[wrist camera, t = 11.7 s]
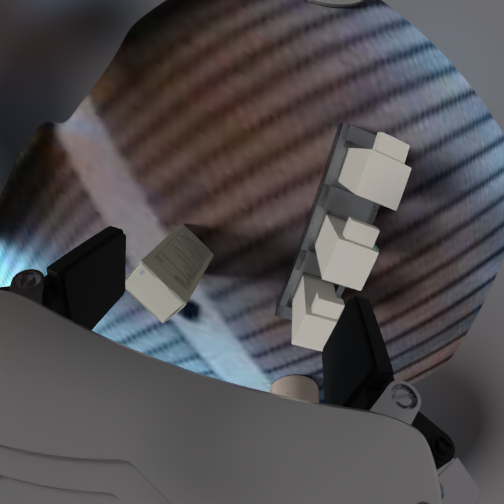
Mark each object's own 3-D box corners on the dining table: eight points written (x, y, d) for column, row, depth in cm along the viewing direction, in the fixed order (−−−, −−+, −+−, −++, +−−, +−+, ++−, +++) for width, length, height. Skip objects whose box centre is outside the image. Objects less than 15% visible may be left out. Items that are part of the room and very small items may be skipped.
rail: (338, 124, 29) (343, 122, 26) (391, 146, 28) (400, 146, 26) (276, 303, 38) (275, 315, 36) (322, 316, 38) (324, 329, 35)
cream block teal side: (352, 133, 27) (376, 128, 19) (390, 149, 27) (424, 152, 19) (337, 180, 29) (355, 194, 21) (374, 195, 29) (403, 214, 21)
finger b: (331, 198, 30) (346, 219, 22) (368, 212, 30) (394, 237, 22) (314, 244, 32) (321, 279, 24) (350, 256, 32) (368, 293, 24)
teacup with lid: (260, 381, 45) (251, 435, 34) (307, 366, 42) (308, 423, 31) (289, 415, 48) (285, 463, 37) (331, 403, 45) (335, 453, 35)
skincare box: (164, 242, 37) (117, 282, 26) (183, 221, 36) (138, 257, 24) (196, 274, 38) (162, 326, 27) (217, 256, 37) (186, 305, 26)
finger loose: (307, 260, 33) (312, 298, 25) (343, 271, 33) (358, 311, 25) (292, 299, 35) (291, 344, 27) (326, 308, 35) (333, 354, 27)
